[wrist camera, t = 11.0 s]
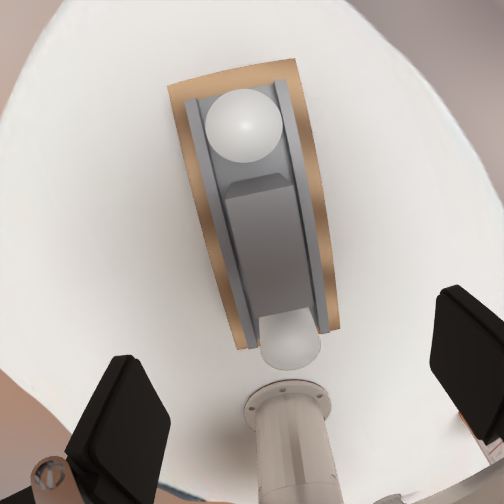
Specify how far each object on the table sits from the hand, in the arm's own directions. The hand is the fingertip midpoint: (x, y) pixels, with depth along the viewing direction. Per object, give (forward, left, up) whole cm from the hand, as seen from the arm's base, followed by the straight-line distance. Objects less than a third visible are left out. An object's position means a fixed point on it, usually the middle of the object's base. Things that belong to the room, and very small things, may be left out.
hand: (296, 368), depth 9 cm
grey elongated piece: (0, 0, -17) cm, 17 cm away
